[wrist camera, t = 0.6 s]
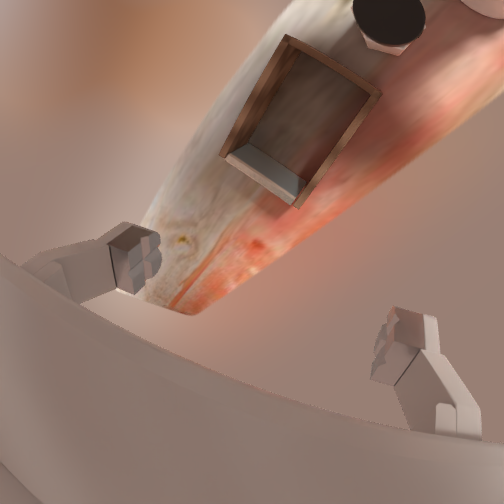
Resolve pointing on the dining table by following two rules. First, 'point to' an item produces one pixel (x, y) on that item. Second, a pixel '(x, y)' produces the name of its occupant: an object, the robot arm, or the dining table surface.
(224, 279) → the dining table surface
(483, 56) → the dining table surface
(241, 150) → the panel
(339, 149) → the crate
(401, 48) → the jar
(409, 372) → the robot arm
